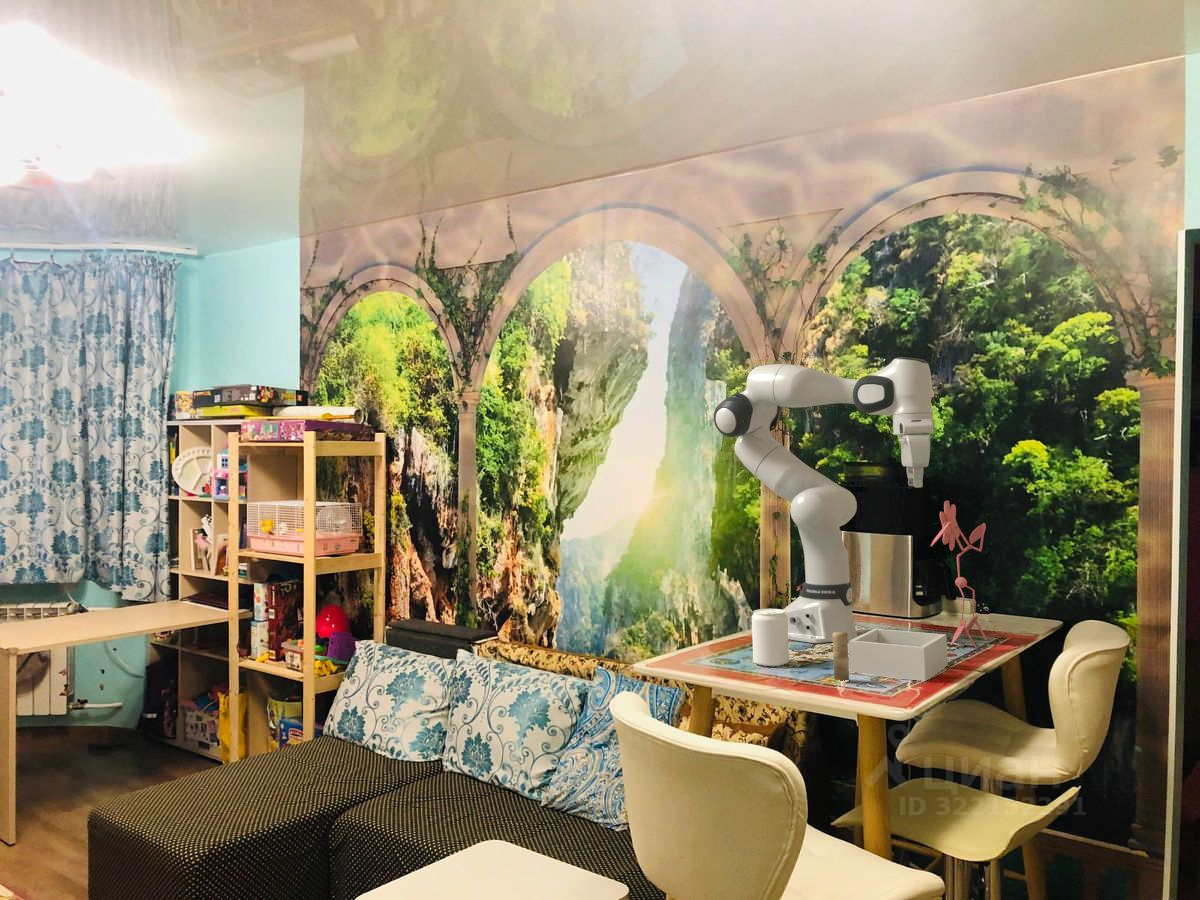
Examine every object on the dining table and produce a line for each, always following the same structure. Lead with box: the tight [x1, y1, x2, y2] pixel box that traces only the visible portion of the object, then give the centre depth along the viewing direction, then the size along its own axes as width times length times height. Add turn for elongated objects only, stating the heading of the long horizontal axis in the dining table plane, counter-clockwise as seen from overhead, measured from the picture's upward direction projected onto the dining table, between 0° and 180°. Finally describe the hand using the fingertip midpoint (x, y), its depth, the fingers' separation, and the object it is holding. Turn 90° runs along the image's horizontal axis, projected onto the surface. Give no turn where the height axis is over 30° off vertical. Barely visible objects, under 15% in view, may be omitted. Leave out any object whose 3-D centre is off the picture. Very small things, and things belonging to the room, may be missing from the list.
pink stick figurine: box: [930, 500, 997, 648], centre depth 225 cm, size 15×26×35 cm, turn 141°
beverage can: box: [751, 608, 790, 667], centre depth 207 cm, size 8×8×12 cm
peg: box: [832, 632, 850, 681], centre depth 189 cm, size 3×3×10 cm
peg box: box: [848, 628, 948, 682], centre depth 197 cm, size 16×16×7 cm
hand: (915, 486), depth 209 cm, fingers open, 8 cm apart
